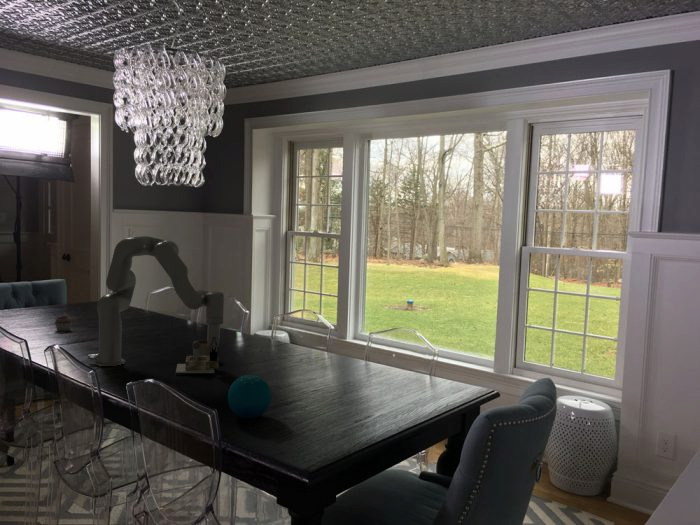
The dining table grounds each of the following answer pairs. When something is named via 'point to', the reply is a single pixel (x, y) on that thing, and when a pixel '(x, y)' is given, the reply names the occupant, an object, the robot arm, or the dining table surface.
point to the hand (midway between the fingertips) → (213, 358)
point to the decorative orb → (249, 396)
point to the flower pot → (204, 348)
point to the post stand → (195, 358)
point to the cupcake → (63, 323)
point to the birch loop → (200, 363)
